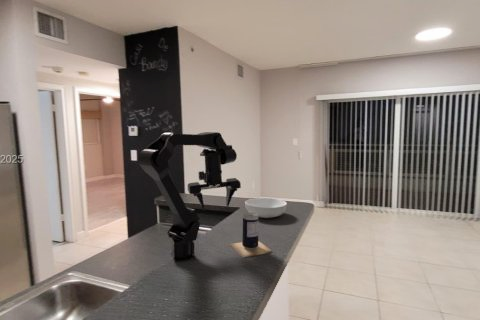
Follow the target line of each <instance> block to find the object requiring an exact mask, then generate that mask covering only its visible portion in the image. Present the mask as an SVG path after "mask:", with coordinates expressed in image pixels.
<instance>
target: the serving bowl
mask: <svg viewBox="0 0 480 320" xmlns="http://www.w3.org/2000/svg"><path fill="white" fill-rule="evenodd" d="M244 204H245V206H244V207H245V209H246V210H247V211H248V212H247V213H256V214H258V217H259V218H261V219H262V218H263V219H272V218H276V217H279V216H281V215H283V214H284V213H285V212H286V210H287V207H288V206H287V205H288V203H287V201H285V200H283V199H278V198H272V197H271V198H270V197H256V198H250V199H247V200H245V201H244Z"/></svg>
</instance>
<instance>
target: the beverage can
mask: <svg viewBox="0 0 480 320" xmlns="http://www.w3.org/2000/svg"><path fill="white" fill-rule="evenodd" d="M259 223H260V217H258V214H256V213H249V212H245V213H244V214H243V217H242V241H241V242H242V245H243V246H244V247H245V248H246V249H249V250H252V249H255V248H256V247H257V246H258V241H259V232H260V231H259V229H260V225H259Z"/></svg>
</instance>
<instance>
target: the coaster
mask: <svg viewBox="0 0 480 320" xmlns="http://www.w3.org/2000/svg"><path fill="white" fill-rule="evenodd" d="M230 247H231V248H233V250H235V251H236V252H237V253H238V254H239V255H240V256H241V257H242V258H247V257H252V256H258V255H264V254H269V253H272V252H273V251H272V249H271V248H269V247H268V246H266V245H265V244H264V243H262V242H261V241H260V240H258V246H257V247H256V248H255V249H252V250H249V249H246V248H245V247H244V246H243V245H242V241H241V242H235V243H230Z"/></svg>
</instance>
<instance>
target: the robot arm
mask: <svg viewBox="0 0 480 320" xmlns="http://www.w3.org/2000/svg"><path fill="white" fill-rule="evenodd" d="M176 146H197V147H200V148H203V150H202V151H201V152H200V154H199V156H200V157H204V166H205V171H203V170H202V171H198V180H199V181H203V184H200V183H199V182H198V181H197V182H195V181H194V182H188V184H187V191H188V193H189V195H193V197H196V199H198V202H199V205H200V207H201V209H202V211H205V206H204V198H203V193H202V191H203V190H210V189H217V188H219V189H220V188H225V189H226V190H225V191H226V193H225V194H226V196H225V197H226V198H225V205H226V207H227V208H228V207H229V205H230V203H231V201H232V198H233V195H234V194H235V192H237V191H238V189H241V188H242V187H241V181H240V180H238V179H237V178H236V177H232V178H226V180H225V181H223V179H222V176H223V175H222V174H223V171H222V165H226V164H227V165H228V164H232V163H234V162H235V161H236V160H237V155H238V154H237V152H236V150H235V149H234V148H233V145H232V144H230V145H229V144H227V143H226V141H225V140H224V138H223V136H222V133H220V132H218V131H217V132H216V131H214V132H213V131H211V132H210V131H206V132H204V131H203V132H200V133H196V134H192V133H190V134H189V133H175V132H163V133H162V134H160V136H159V137H158V138H157V139H156V140H154V141H153V142H151V143H150V144H148V145H147V147H146V148H145V149H142V150H141V151H140V152H139V154H138V156H137V157H138V158H137V163H138V165H139V166H140V168H141V169H142V170H143V171H144V172H145V173H146V174H147V175H149V177H150V178H152V179H153V180H154V182H155V184H156V186H157V187H158V189H159V191H160V193H161V194H162V197H163V198H164V201H165V202H166V204H167V207H168V208H169V210H170V211H171V213H172V219H171V221H172V225H171V226H170V228H169V229H168V230H167V236H168V238H169V239H171V250H172V252H171V253H170V255H171V257H172V259H173V261H174V262H178V263H179V262H182V261H183V262H184V261H189V260H193V259H195V242H194V241H196V240H197V237H198V234H199V230H200V226H201V222H200V219H201V218H200V217H199V215H198V213H197V211H196V209H193V208H190V207H187V205H186V203H185V202H184V200H183V198H182V196H181V194H180V192H179V190H178V188H177V187H176V184H175V182H174V180H173V178H172V176H171V174H170V167H171V165H170V162H169V160H170V159H171V157H172V156H173V155H174V154H173V153H174V151H175V148H176Z"/></svg>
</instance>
